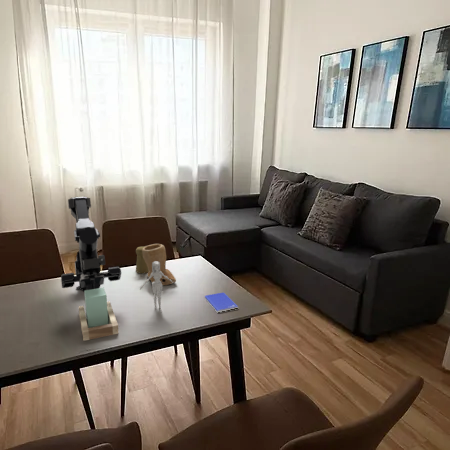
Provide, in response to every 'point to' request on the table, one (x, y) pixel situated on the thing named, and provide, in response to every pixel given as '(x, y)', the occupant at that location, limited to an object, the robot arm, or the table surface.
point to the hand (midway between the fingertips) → (95, 301)
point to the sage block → (96, 307)
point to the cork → (141, 262)
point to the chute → (99, 330)
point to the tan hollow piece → (158, 254)
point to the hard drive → (220, 302)
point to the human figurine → (156, 283)
